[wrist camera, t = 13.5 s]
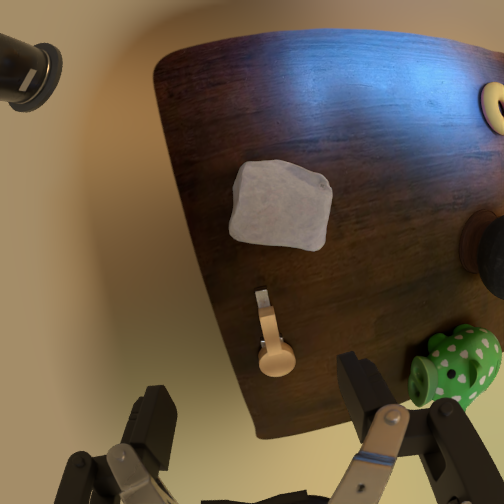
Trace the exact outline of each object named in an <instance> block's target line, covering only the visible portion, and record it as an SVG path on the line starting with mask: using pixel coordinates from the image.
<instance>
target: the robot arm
mask: <svg viewBox="0 0 504 504" xmlns="http://www.w3.org/2000/svg"><path fill="white" fill-rule="evenodd" d="M51 69H52V60H51V56H50V54H49V53H48V52H47V51H45V50H43V49H39V48H36V47H34V46H32V45H29V44H27V43H25V42H22V41H19V40H17V39H15V38H12V37H9V36H7V35H4V34H1V33H0V101H7V102H14V103H17V104H27V103H29V102H31V101H33V100H34V99H35V98H36V97H37V96H38V95H39V94H40V93H41V92H42V90H43V89H44V87H45V86H46V84H47V82H48V80H49V77H50V74H51ZM337 375H338V384H339V388H340V391H341V394H342V396H343V399H344V401H345V404H346V406H347V409H348V412H349V414H350V417H351V419H352V422H353V424H354V427H355V429H356V432H357V435H358V438H359V440H360V443H361V444H362V443H363V444H362V447H361V449H360V451H359V452H358V454H356V455H355V456H354V457H353V459H352V461H351V463H350V465H349V467H348V469H347V470H346V472H345V474H344V476H343V478H342V480H341V482H340V483H339V485H338V487H337V488H336V490H335V492H334V494H333V495H332V497H331V498H327V497H323V496H316V495H307V490H303V491H297V492H291V493H285V494H280V495H277V496H274V497H271V498H268V499H265V500H262V501H259V502H256V503H244V502H237V501H229V500H209V501H208V500H207V501H205V500H204V501H201V504H378V502H379V500H380V498H381V496H382V494H383V491H384V489H385V487H386V484H387V482H388V480H389V477H390V475H391V473H392V470H393V467H394V465H395V462H396V460H397V457H403V456H412V455H419V457H420V459H421V462H422V464H423V467H424V469H425V472H426V474H427V476H428V479H429V482H430V485H431V487H432V490H433V492H434V495H435V498H436V501H437V503H438V504H504V481H503V479H502V477H501V476H500V473H499V471H498V469H497V467H496V465H495V464H494V462H493V460H492V458H491V456H490V455H489V453H488V451H487V449H486V447H485V445H484V444H483V442H482V440H481V438H480V437H479V435H478V433H477V432H476V430H475V428H474V427H473V425H472V423H471V422H470V420H469V418H468V417H467V415H466V413H465V412H464V410H463V409H462V407H461V405H460V404H459V403H458V402H457V401H456V400H455V399H453V398H448V397H444V398H440V399H437V400H436V401H434V402H433V403H432V405H431V407H430V408H426V409H419V410H409V409H406V408H405V407H404V406H402V405H399V404H398V403H397V402H396V400H395V399H394V397H393V395H392V393H391V392H390V390H389V388H388V386H387V385H386V383H385V381H384V380H383V378H382V376H381V374H380V373H379V371H378V369H377V367H376V366H375V364H374V363H372V362H371V361H369V360H368V359H362V360H358V359H357V357H356V355H355V353H354V352H353V351H350V352H347V353H343V354H339V355H337ZM176 422H177V409H176V406H175V404H174V402H173V401H172V399H171V397H170V395H169V393H168V391H167V389H166V388H165V386H164V385H156V386H148V387H147V389H146V392H145V395H144V397H139V399H138V400H137V401H136V402H135V403H134V405H133V408H132V411H131V414H130V416H129V421H128V422H127V425H126V428H125V431H124V434H123V437H122V440H121V443H120V444H117V445H115V446H113V447H112V448H111V449H110V450H109V451H108V453H107V455H103V456H97V457H91V456H90V455H89V454H88V453H87V452H85V451H79V452H76V453H74V454H72V455H71V456H70V458H69V459H68V462H67V465H66V467H65V470H64V473H63V476H62V480H61V483H60V486H59V488H58V492H57V495H56V498H55V501H54V504H89V500H90V504H120V500H121V499H122V501H123V503H124V504H178V503H177V501H176V500H175V499H174V497H173V496H172V495H171V493H170V492H169V491H168V489H167V488H166V486H165V485H164V483H163V482H162V481H161V479H160V478H159V477H158V473H159V471H160V470H161V471H168V466H169V460H170V453H171V448H172V443H173V437H174V432H175V427H176ZM92 490H93V491H92ZM91 492H92V495H91ZM90 496H91V499H90Z"/></svg>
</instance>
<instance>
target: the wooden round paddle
mask: <svg viewBox="0 0 504 504" xmlns="http://www.w3.org/2000/svg"><path fill="white" fill-rule="evenodd" d="M258 311H259V319H260V323H261V327H262V331H263V336H264V340H265V344H266V345H265V346H264V347H263V348H262V349H261V350H260V352H259V355H258V359H259V367H260V369H261V371H262V372H263V373H264V374H266V375H268V376H272V377H279V376H283V375H286V374H287V373H289V372H290V371H291V370H292V369H293V368H294V366H295V362H296V361H295V356H294V353H293V350H292V348H291V347H290V346H289V345H288V344H286V343H284V342H280V338H279V333H278V328H277V323H276V318H275V313H274V308H273V306H270V307H265V308H260V309H258Z"/></svg>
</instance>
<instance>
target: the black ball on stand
mask: <svg viewBox="0 0 504 504" xmlns="http://www.w3.org/2000/svg"><path fill="white" fill-rule="evenodd" d="M459 255H460V260H461V263H462V265H463V267H464V268H465V269H466V270H467V271H469V272H471V273H475V274H477V273H479V274H480V277H481V279H482V281H483V283H484V285H485V286H486V288H487V289H488V290H489V291H490V292H491V293H492V294H494V295H495V296H496V297H498V298H500V299H503V300H504V215H503V216H501V217H498V218H497V216H496V215H495V214H494V213H493V212H491V211H488V210H479V211H477V212H476V213H474V214H473V215H472V216H471V217H470V218H469V220H468V221H467V223H466V225H465V227H464V229H463V232H462V235H461V239H460V246H459Z"/></svg>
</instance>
